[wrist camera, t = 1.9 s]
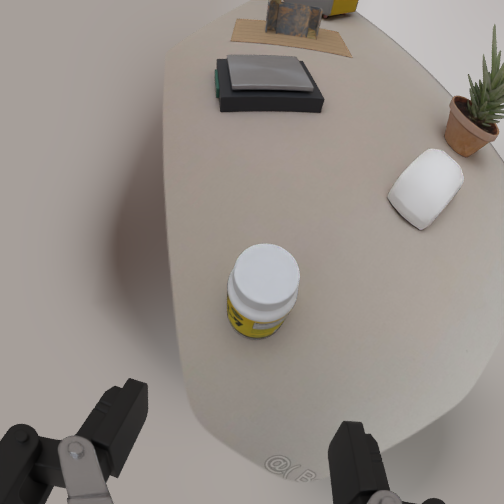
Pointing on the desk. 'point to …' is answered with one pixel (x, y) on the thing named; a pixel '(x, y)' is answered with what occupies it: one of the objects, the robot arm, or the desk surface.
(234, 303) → the supplement bottle
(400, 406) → the desk surface
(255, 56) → the scale pan
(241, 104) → the scale
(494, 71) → the potted plant
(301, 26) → the ruin model on sheet
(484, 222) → the desk surface
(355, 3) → the alarm clock
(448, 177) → the computer mouse
